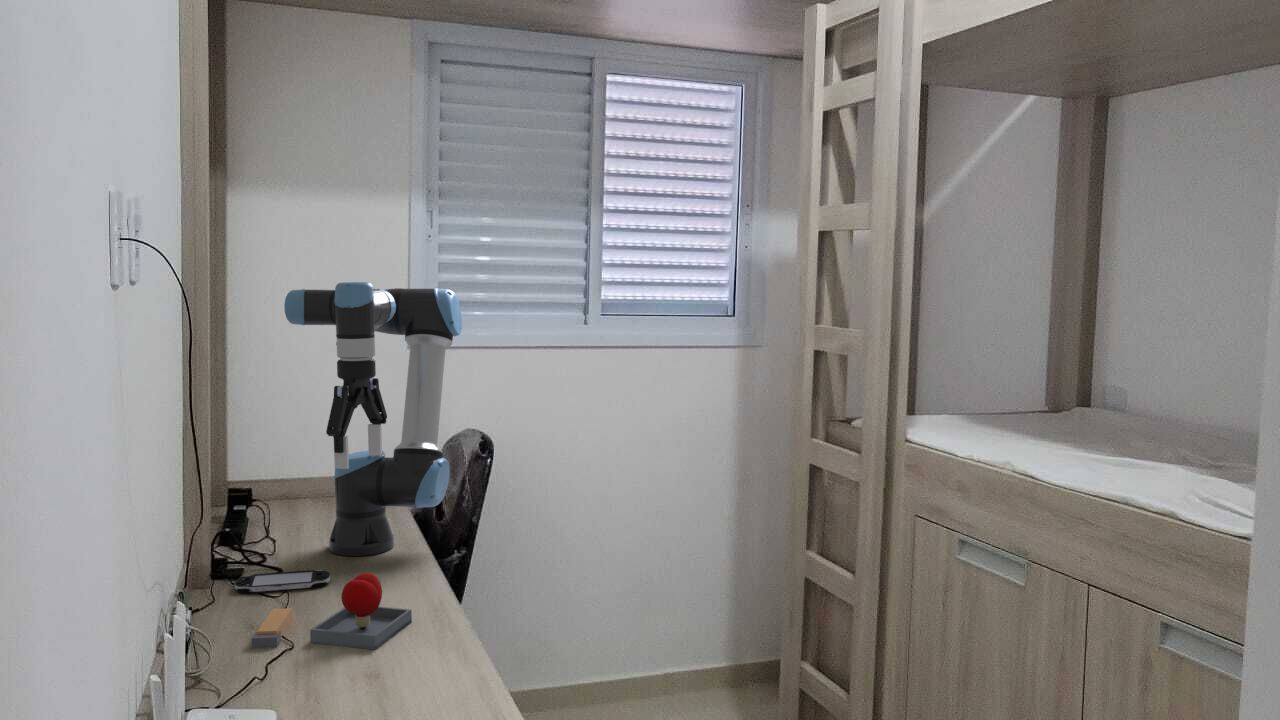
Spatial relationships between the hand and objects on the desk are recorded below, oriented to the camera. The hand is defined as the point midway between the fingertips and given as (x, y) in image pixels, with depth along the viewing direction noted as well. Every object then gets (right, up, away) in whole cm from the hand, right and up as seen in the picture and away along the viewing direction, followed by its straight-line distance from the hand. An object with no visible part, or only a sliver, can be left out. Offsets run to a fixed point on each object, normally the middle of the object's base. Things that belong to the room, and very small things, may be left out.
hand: (359, 461), depth 212 cm
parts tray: (+5, -31, -17) cm, 35 cm away
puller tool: (-11, -31, -16) cm, 37 cm away
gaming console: (-19, -28, +10) cm, 36 cm away
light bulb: (+5, -30, -16) cm, 35 cm away
